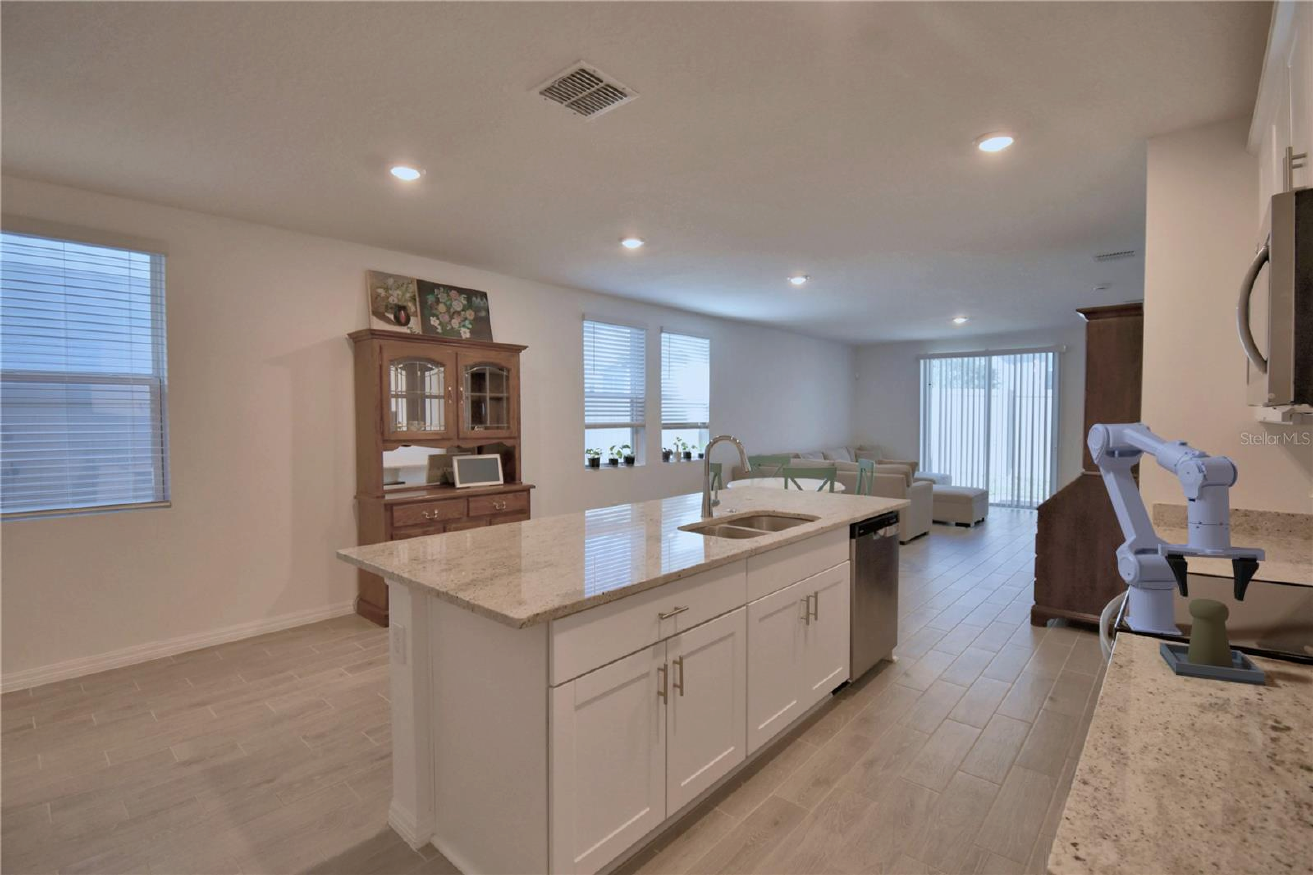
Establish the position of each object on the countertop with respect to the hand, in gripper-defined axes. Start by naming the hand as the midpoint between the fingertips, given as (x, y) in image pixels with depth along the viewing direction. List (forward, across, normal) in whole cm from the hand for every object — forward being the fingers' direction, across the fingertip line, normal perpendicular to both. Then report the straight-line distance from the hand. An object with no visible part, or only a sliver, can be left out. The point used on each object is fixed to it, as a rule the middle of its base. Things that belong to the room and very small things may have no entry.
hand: (1211, 597), depth 113 cm
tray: (+10, -3, -8) cm, 14 cm away
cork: (+10, -2, -8) cm, 13 cm away
